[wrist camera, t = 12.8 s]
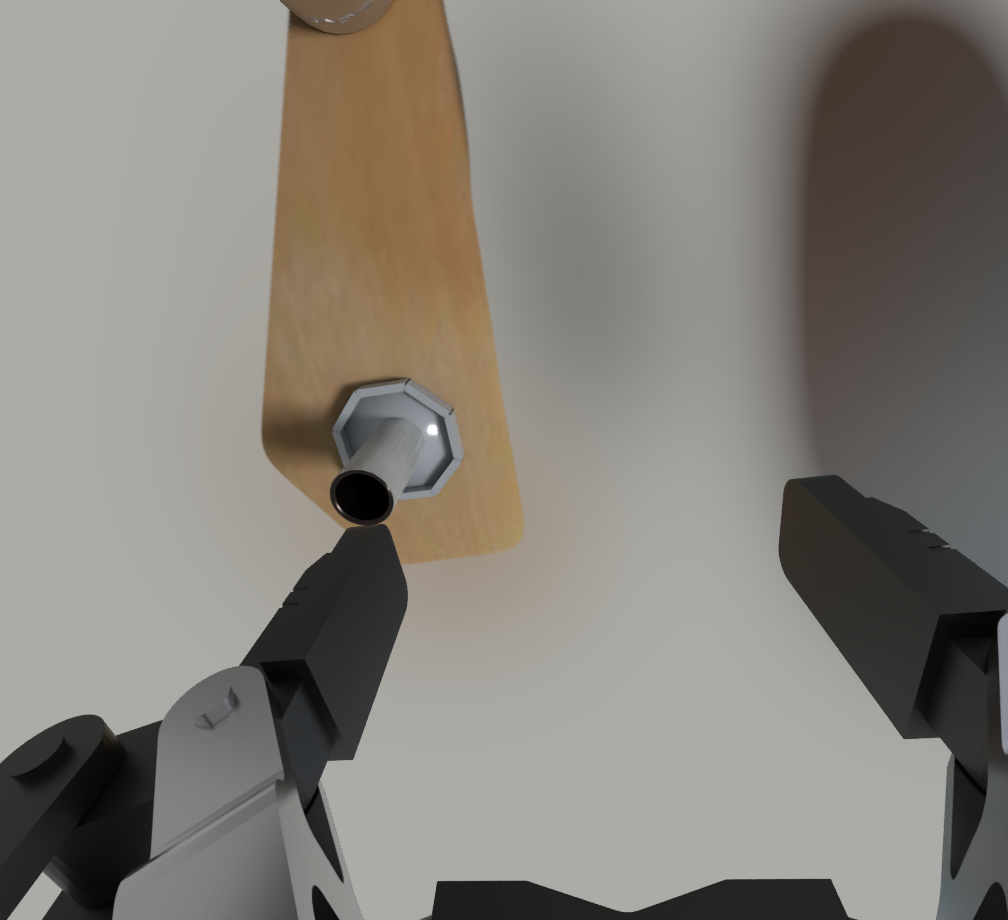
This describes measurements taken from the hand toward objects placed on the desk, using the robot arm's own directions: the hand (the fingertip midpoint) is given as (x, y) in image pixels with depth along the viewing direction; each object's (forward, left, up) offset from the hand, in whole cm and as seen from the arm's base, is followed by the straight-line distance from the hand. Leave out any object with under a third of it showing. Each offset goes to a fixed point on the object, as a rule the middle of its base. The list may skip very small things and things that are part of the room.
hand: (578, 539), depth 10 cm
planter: (+8, -14, -30) cm, 34 cm away
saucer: (+9, -14, -30) cm, 34 cm away
